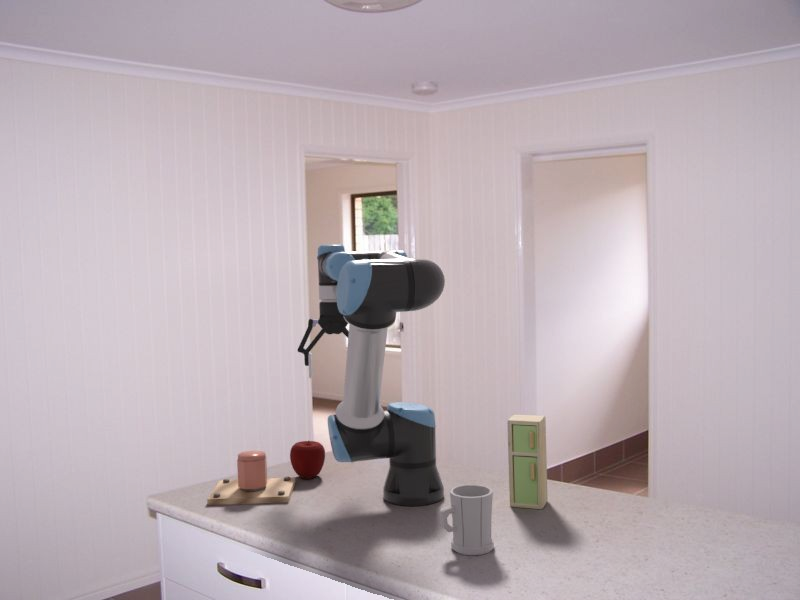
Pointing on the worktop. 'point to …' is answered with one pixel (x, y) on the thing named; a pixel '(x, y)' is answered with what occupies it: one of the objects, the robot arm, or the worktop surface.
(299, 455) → the apple
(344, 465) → the worktop surface
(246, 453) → the cap
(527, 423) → the toy refrigerator
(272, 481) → the stud plate
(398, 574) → the worktop surface
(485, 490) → the cup
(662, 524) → the worktop surface
